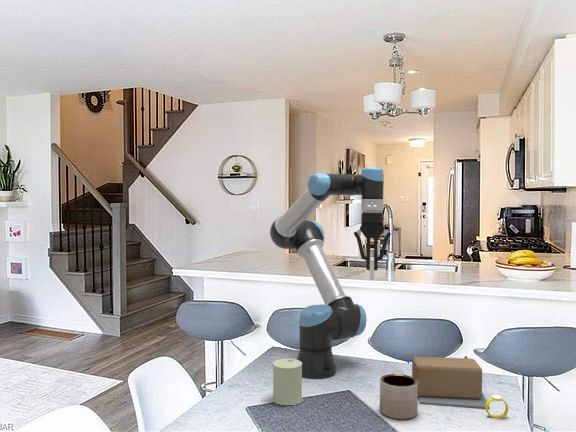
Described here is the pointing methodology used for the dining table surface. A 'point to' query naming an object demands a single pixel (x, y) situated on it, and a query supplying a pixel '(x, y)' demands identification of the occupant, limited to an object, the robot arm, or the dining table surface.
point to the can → (287, 381)
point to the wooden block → (447, 377)
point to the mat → (454, 402)
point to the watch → (496, 398)
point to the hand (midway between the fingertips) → (371, 279)
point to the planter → (398, 396)
